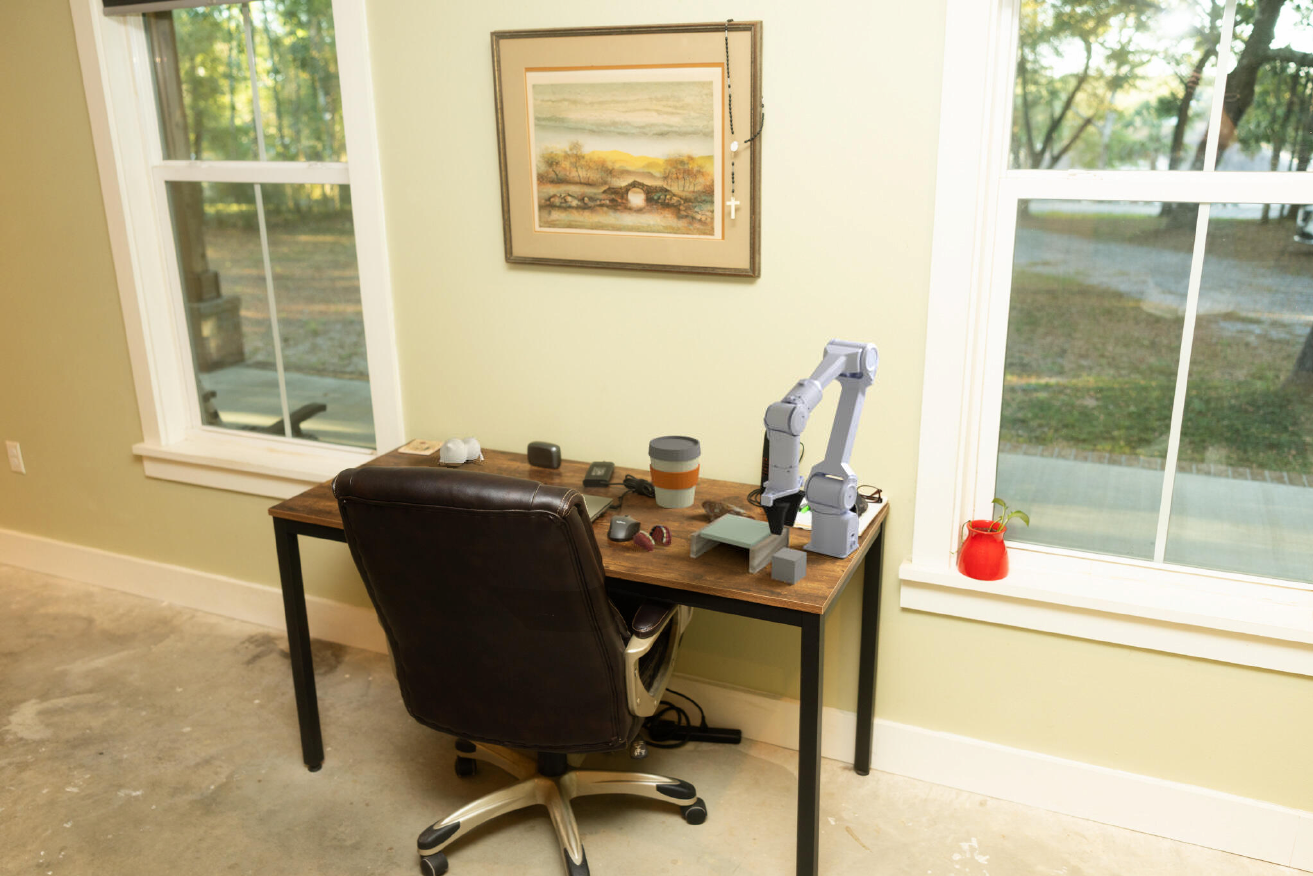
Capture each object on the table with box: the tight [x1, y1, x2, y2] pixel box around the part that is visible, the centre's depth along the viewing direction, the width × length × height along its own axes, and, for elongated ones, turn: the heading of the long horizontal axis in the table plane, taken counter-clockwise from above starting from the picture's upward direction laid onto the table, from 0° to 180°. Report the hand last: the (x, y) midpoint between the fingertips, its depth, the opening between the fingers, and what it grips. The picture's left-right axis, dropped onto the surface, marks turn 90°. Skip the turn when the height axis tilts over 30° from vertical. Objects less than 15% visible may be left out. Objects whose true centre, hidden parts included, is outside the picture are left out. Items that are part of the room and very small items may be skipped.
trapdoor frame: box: [689, 514, 791, 574], centre depth 201 cm, size 15×15×5 cm
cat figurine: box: [438, 436, 484, 464], centre depth 261 cm, size 9×11×12 cm
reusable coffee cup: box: [647, 435, 702, 509], centre depth 230 cm, size 13×13×15 cm
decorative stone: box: [701, 498, 757, 522], centre depth 219 cm, size 10×4×15 cm
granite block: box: [770, 547, 808, 585], centre depth 189 cm, size 5×5×5 cm
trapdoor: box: [700, 515, 772, 550], centre depth 200 cm, size 12×12×1 cm
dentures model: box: [632, 524, 673, 552], centre depth 206 cm, size 6×4×8 cm
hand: (782, 530), depth 188 cm, fingers open, 5 cm apart
